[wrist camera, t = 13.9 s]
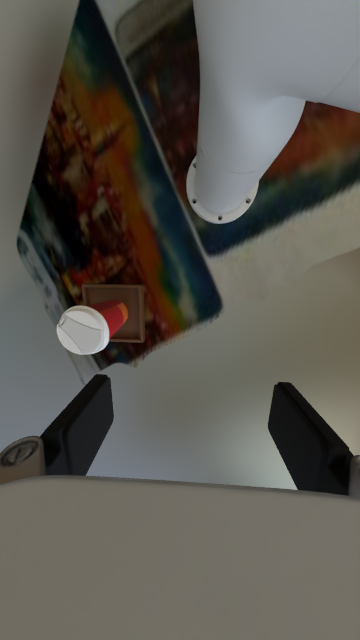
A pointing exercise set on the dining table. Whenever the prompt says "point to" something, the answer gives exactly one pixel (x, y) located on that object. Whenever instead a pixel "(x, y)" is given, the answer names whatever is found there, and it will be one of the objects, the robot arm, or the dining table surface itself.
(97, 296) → the tray
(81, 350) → the paper cup
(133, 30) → the dining table surface
